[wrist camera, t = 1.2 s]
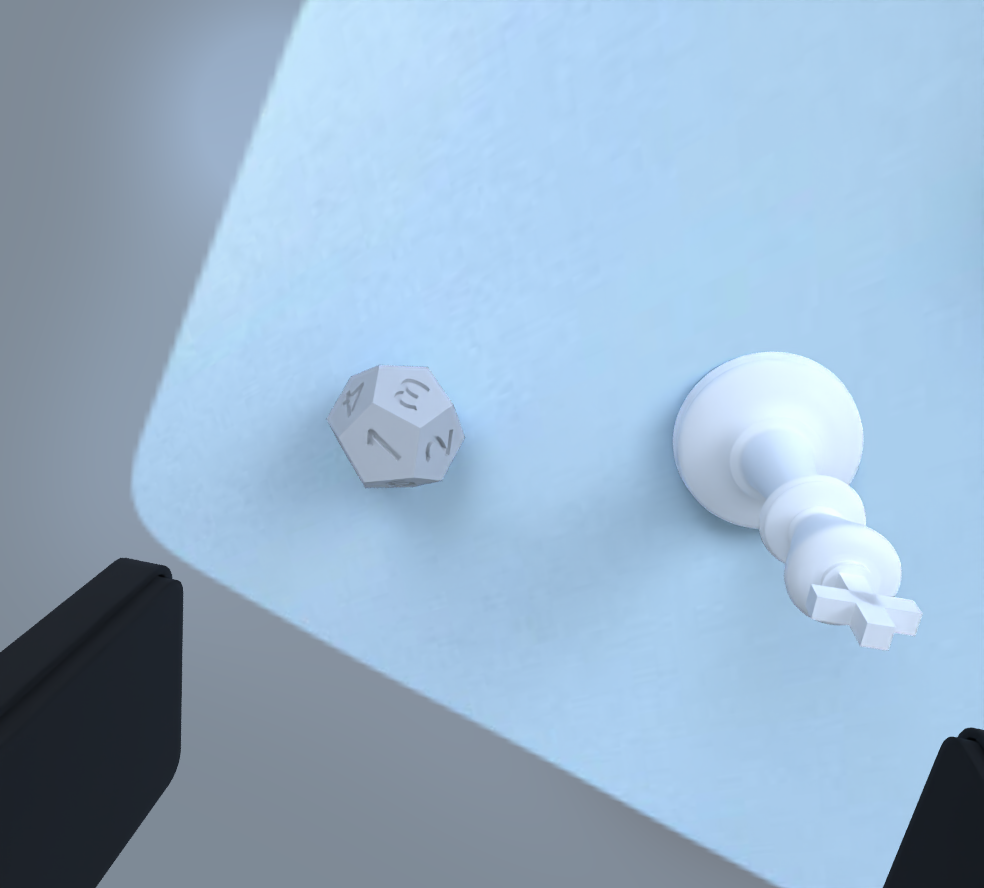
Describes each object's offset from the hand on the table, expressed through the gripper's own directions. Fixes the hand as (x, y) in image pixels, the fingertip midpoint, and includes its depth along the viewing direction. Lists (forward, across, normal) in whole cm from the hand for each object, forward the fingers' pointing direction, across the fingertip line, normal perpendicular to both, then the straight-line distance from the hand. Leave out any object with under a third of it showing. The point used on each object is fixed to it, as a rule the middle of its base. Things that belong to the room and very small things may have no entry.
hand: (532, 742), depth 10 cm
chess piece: (+14, -5, 0) cm, 15 cm away
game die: (+14, +5, +1) cm, 15 cm away
